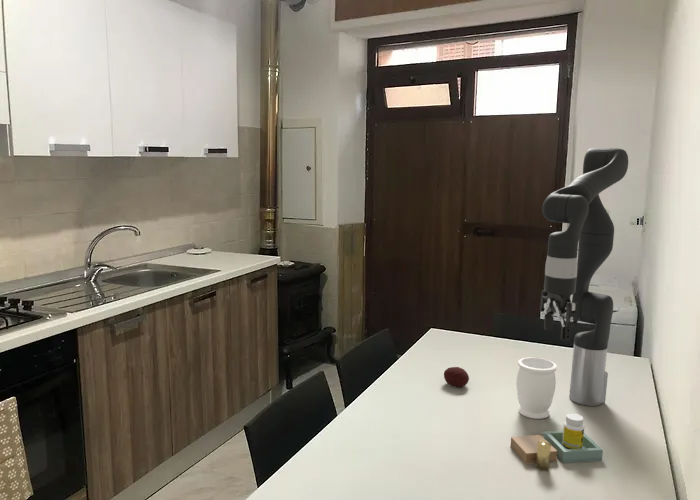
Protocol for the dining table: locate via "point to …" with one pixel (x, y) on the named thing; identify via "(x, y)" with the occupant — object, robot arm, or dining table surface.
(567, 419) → the supplement bottle
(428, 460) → the dining table surface
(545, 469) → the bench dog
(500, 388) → the dining table surface
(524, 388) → the jar
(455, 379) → the potato
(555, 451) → the brown wooden square block
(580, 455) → the tray
